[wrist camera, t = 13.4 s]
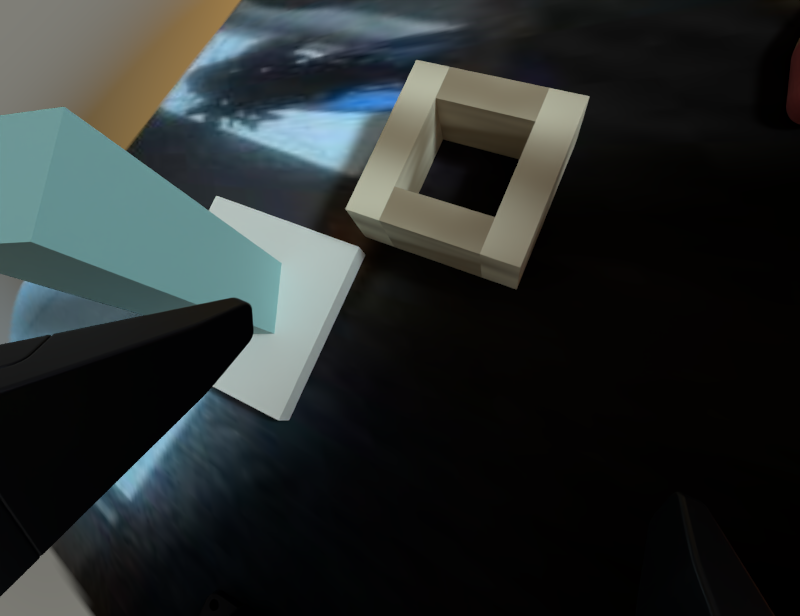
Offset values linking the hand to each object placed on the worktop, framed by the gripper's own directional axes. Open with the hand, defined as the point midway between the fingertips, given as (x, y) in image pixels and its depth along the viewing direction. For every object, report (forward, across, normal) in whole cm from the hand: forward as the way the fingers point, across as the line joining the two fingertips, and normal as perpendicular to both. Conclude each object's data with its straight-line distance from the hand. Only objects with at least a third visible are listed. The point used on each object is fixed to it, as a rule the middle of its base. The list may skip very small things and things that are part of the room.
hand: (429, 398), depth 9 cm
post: (+9, +14, +8) cm, 18 cm away
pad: (+10, +14, +9) cm, 19 cm away
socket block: (+17, +4, +2) cm, 18 cm away
